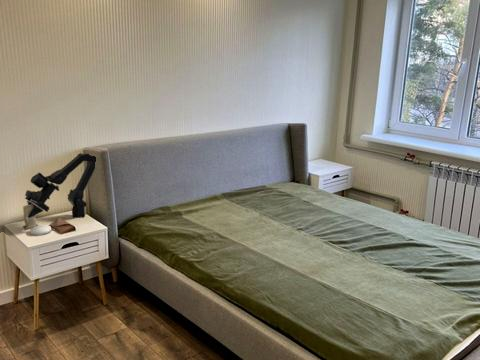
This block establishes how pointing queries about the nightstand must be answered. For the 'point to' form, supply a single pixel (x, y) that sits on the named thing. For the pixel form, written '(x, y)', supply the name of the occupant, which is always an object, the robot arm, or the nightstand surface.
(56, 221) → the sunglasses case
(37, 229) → the stand
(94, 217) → the nightstand surface
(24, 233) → the nightstand surface
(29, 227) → the beige container
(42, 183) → the robot arm
